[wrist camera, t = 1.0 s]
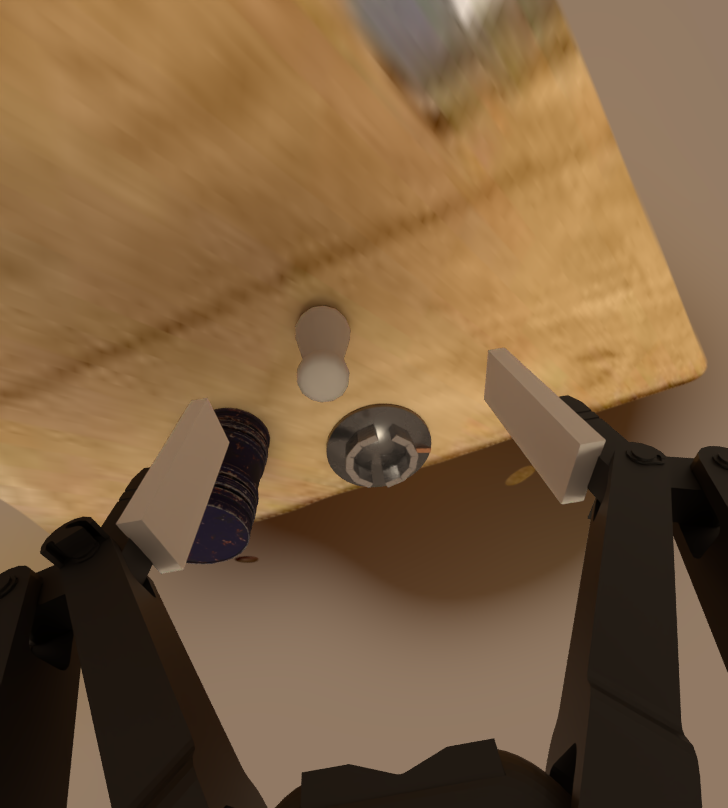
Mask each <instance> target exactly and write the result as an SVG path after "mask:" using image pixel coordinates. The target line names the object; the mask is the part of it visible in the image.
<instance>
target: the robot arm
mask: <svg viewBox="0 0 728 808" xmlns="http://www.w3.org/2000/svg"><path fill="white" fill-rule="evenodd" d="M484 400H485V401H486V403H487V404H488V405H489V407H490V408H491V409H492V411H493V412H494V413H495V415H496V416H497V418H498V419H499V420H500V422H501V423H502V424H503V426H504V427H505V428H506V430H507V431H508V432H509V434H510V435H511V437H512V438H513V439H514V441H515V442H516V443H517V445H518V446H519V447H520V448H521V450H522V451H523V453H524V454H525V456H526V457H527V458H528V460H529V461H530V462H531V464H532V465H533V466H534V468H535V469H536V470H537V472H538V473H539V474H540V476H541V477H542V478H543V480H544V481H545V482H546V484H547V485H548V487H549V488H550V489H551V491H552V492H553V493H554V495H555V496H556V497H557V499H558V500H559V502H560V503H561V504H566V503H572V502H578V501H583V500H584V497H585V495H586V492H587V490H588V489H589V490H590V491H591V493H592V494H593V495H594V496H595V497H596V498H595V501H594V504H593V506H592V509H591V511H590V514H589V516H588V519H591V521H590V527H589V533H588V539H587V545H586V551H585V557H584V564H583V569H582V575H581V581H580V588H579V593H578V600H577V606H576V612H575V618H574V624H573V630H572V636H571V643H570V649H569V654H568V660H567V666H566V672H565V679H564V685H563V691H562V697H561V704H560V709H559V714H558V719H557V723H556V726H555V729H554V732H553V736H552V740H551V744H550V749H549V754H548V759H547V765H546V771H545V772H544V771H543V770H542V769H540V768H539V767H537V766H536V765H534V764H533V763H531V762H529V761H527V760H526V759H524V758H522V757H520V756H518V755H515V754H512V753H510V752H507V751H503V750H499V749H497V746H496V743H495V740H494V739H488V740H482V741H477V742H471V743H466V744H460V745H454V746H449V747H446V748H444V749H443V750H441V751H439V752H438V753H437V754H435V755H433V756H432V757H430V758H428V759H426V760H425V761H423V762H422V763H420V764H418V765H417V766H415V767H413V768H412V769H410V770H409V771H407V772H405V773H403V774H392V773H387V772H383V771H378V770H374V769H369V768H364V767H360V766H355V765H350V764H347V765H342V766H337V767H331V768H325V769H319V770H314V771H308V772H302V782H301V786H299V787H298V788H296V789H295V790H294V791H292V792H291V793H290V794H289V795H287V796H286V797H285V798H284V799H283V800H282V801H281V802H280V803H279V804H278V805H277V806H276V807H275V808H702V800H701V784H700V774H699V766H698V760H697V756H696V753H695V750H694V747H693V745H692V744H691V743H690V742H689V740H688V739H687V738H686V737H685V735H684V733H683V730H682V723H681V707H680V685H679V662H678V638H677V616H676V593H675V570H674V548H673V536H674V539H675V541H676V544H677V546H678V549H679V551H680V554H681V556H682V559H683V561H684V564H685V566H686V569H687V571H688V574H689V576H690V579H691V581H692V584H693V586H694V589H695V591H696V594H697V596H698V599H699V601H700V604H701V606H702V609H703V611H704V614H705V616H706V619H707V621H708V624H709V627H710V629H711V632H712V634H713V637H714V639H715V642H716V644H717V647H718V649H719V652H720V654H721V657H722V659H723V662H724V664H725V667H726V669H727V672H728V448H724V447H718V446H708V447H704V448H701V450H700V451H699V452H698V453H697V455H696V457H695V458H679V457H666V456H665V455H664V454H663V453H662V452H661V451H659V450H657V449H655V448H654V447H651V446H648V445H645V444H642V443H636V442H628V441H627V440H626V439H625V438H624V437H622V436H621V435H620V434H619V433H618V432H617V431H615V430H614V429H613V428H612V427H611V426H609V425H608V424H607V423H606V422H605V421H603V420H602V419H600V418H599V416H598V415H596V414H595V413H594V412H591V409H590V408H588V407H587V406H586V405H585V404H584V403H582V402H581V401H579V400H577V399H575V398H573V397H570V396H568V395H566V396H561V397H558V396H557V395H556V394H555V393H554V392H553V391H552V390H550V389H549V388H548V387H547V386H546V385H545V384H544V383H543V382H542V381H541V380H540V379H538V378H537V377H536V376H535V375H534V374H533V373H532V372H531V371H530V370H529V369H527V368H526V367H525V366H524V365H523V364H522V363H521V362H520V361H519V360H518V359H517V358H515V357H514V356H513V355H512V354H511V353H510V352H509V351H508V350H507V349H506V348H499V349H493V350H488V360H487V371H486V383H485V394H484ZM228 445H229V441H228V439H227V437H226V435H225V432H224V430H223V428H222V426H221V424H220V422H219V420H218V418H217V416H216V414H215V412H214V410H213V408H212V406H211V404H210V402H209V400H208V398H203V399H197V400H191V401H190V403H189V405H188V406H187V408H186V410H185V411H184V413H183V415H182V416H181V418H180V420H179V421H178V423H177V424H176V426H175V428H174V429H173V431H172V433H171V434H170V436H169V438H168V439H167V441H166V443H165V444H164V446H163V447H162V449H161V451H160V452H159V454H158V456H157V457H156V459H155V461H154V462H153V464H152V466H151V467H149V468H144V469H143V470H141V471H140V472H139V473H138V474H137V475H136V476H135V477H134V478H133V479H132V480H131V482H130V483H129V485H128V486H127V488H126V489H125V492H124V493H123V494H122V496H121V497H120V499H119V502H117V503H116V505H115V506H114V508H113V510H112V511H111V513H110V514H109V516H108V517H107V519H106V520H105V522H104V523H103V525H102V527H100V526H99V525H98V524H97V523H96V522H95V521H94V520H93V519H92V518H91V517H81V518H77V519H74V520H72V521H69V522H67V523H65V524H64V525H62V526H61V527H59V528H58V529H56V530H55V531H54V532H53V533H52V534H51V535H50V536H49V537H48V538H47V539H46V540H45V542H44V543H43V545H42V547H41V551H40V553H41V554H42V555H43V556H44V557H46V558H47V559H48V560H49V561H50V562H52V563H53V564H54V566H51V567H49V568H47V569H44V570H42V571H40V572H37V573H35V572H34V571H33V570H31V569H30V568H29V567H27V566H17V567H14V568H11V569H8V570H7V571H5V572H3V573H1V574H0V808H67V797H68V788H69V777H70V768H71V758H72V748H73V738H74V729H75V719H76V709H77V699H78V688H79V679H80V669H82V674H83V678H84V683H85V687H86V692H87V697H88V701H89V705H90V710H91V715H92V720H93V724H94V729H95V733H96V738H97V742H98V747H99V752H100V756H101V761H102V766H103V770H104V775H105V779H106V784H107V789H108V793H109V798H110V802H111V807H112V808H267V806H266V804H265V802H264V800H263V798H262V797H261V795H260V793H259V792H258V790H257V789H256V787H255V786H254V785H253V783H252V782H251V781H250V779H249V778H248V777H247V775H246V774H245V772H244V770H243V768H242V766H241V764H240V762H239V760H238V758H237V756H236V754H235V752H234V750H233V748H232V746H231V743H230V741H229V739H228V737H227V735H226V733H225V731H224V729H223V727H222V725H221V723H220V720H219V718H218V716H217V714H216V712H215V710H214V708H213V706H212V704H211V702H210V700H209V698H208V695H207V694H206V691H205V689H204V687H203V685H202V683H201V681H200V679H199V677H198V675H197V673H196V671H195V669H194V666H193V664H192V662H191V660H190V658H189V656H188V654H187V652H186V650H185V648H184V645H183V643H182V641H181V639H180V637H179V635H178V633H177V631H176V629H175V627H174V625H173V623H172V620H171V619H170V616H169V615H168V612H167V610H166V608H165V606H164V604H163V602H162V600H161V598H160V595H159V594H158V592H157V589H156V587H155V585H154V583H153V581H152V580H151V579H150V578H149V577H148V576H147V575H148V573H149V571H150V569H151V566H152V564H153V565H154V566H155V568H156V569H157V570H158V571H159V572H160V573H161V574H162V573H167V572H173V571H179V570H183V569H184V566H185V564H186V561H187V558H188V555H189V553H190V550H191V547H192V544H193V542H194V539H195V536H196V533H197V531H198V528H199V525H200V522H201V520H202V517H203V514H204V511H205V509H206V506H207V503H208V500H209V498H210V495H211V492H212V489H213V487H214V484H215V481H216V478H217V476H218V473H219V470H220V467H221V465H222V462H223V459H224V456H225V453H226V451H227V448H228Z"/></svg>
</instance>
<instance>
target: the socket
mask: <svg viewBox="0 0 728 808" xmlns="http://www.w3.org/2000/svg"><path fill="white" fill-rule="evenodd" d="M430 451H431V436H430V433H429V430H428V428H427V426H426V424H425V422H424V421H423V420H422V419H421V417H420V416H418V415H417V414H416V413H414V412H413V411H411V410H409V409H407V408H405V407H402V406H398V405H392V404H375V405H369V406H366V407H362V408H360V409H357V410H355V411H353V412H351V413H349V414H348V415H346V416H345V417H343V418H342V419H341V420H340V421H339V422H338V423H337V424H336V425H335V426H334V428H333V429H332V431H331V433H330V435H329V437H328V441H327V458H328V462H329V464H330V466H331V468H332V469H333V471H334V472H335V473H336V474H337V475H338V476H340V477H341V478H342V479H344V480H346V481H348V482H350V483H352V484H355V485H359V486H365V487H368V488H370V487H382V486H387V487H390V486H393V485H395V484H397V483H400V482H402V481H404V480H405V479H406V478H408V477H410V476H411V475H413V474H414V473H415V472H416V471H418V470H419V469H420V468H421V466H422V465H423V464H424V463H425V461H426V460H427V458H428V455H429V453H430Z"/></svg>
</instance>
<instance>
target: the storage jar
mask: <svg viewBox="0 0 728 808" xmlns="http://www.w3.org/2000/svg"><path fill="white" fill-rule="evenodd" d="M214 412H215V414H216V416H217V418H218V420H219V422H220V424H221V426H222V428H223V430H224V432H225V435H226V437H227V439H228V441H229V445H228V448H227V451H226V453H225V456H224V459H223V462H222V465H221V467H220V470H219V473H218V476H217V478H216V481H215V484H214V487H213V489H212V492H211V495H210V498H209V500H208V503H207V506H206V509H205V511H204V514H203V517H202V520H201V522H200V525H199V528H198V531H197V533H196V536H195V539H194V542H193V544H192V547H191V550H190V553H189V555H188V558H187V561H186V563H191V564H213V563H219V562H224V561H227V560H229V559H232V558H234V557H236V556H238V555H239V554H240V553H242V552H243V551H244V550H245V548H246V547H247V545H248V542H249V538H250V533H251V529H252V524H253V522H254V519H255V515H256V508H257V505H258V499H259V498H258V486H259V482H260V479H261V477H262V475H263V472H264V468H265V465H266V462H267V458H268V448H269V444H270V435H269V432H268V430H267V428H266V426H265V425H264V423H263V422H262V421H261V420H260V419H258V418H257V417H256V416H254V415H252V414H250V413H249V412H246V411H243V410H239V409H234V408H221V409H216V410H214Z"/></svg>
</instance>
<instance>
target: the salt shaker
mask: <svg viewBox="0 0 728 808" xmlns="http://www.w3.org/2000/svg"><path fill="white" fill-rule="evenodd" d="M295 333H296V341H297V343H298V346H299V349H300V352H301V355H302V358H303V359H302V361H301V363H300V364H299V366H298V369H297V383H298V386H299V388H300V390H301V391H302V393H303V394H304V395H305V396H307V397H308V398H310V399H311V400H314V401H319V402H328V401H333V400H335V399H337V398H338V397H340V396H342V395H343V393H344V392H345V390H346V389H347V387H348V382H349V369H348V367H347V365H346V363H345V360H344V357H345V354H346V350H347V347H348V344H349V340H350V327H349V325H348V322H347V320H346V318H345V317H344V316H343V315H342V314H341V313H340V312H339V311H338V310H337V309H334V308H331V307H327V306H318V307H312V308H310V309H309V310H307V311H306V312H305V313H303V314H302V315H301V317H300V318H299V320H298V322H297V324H296V326H295Z"/></svg>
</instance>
